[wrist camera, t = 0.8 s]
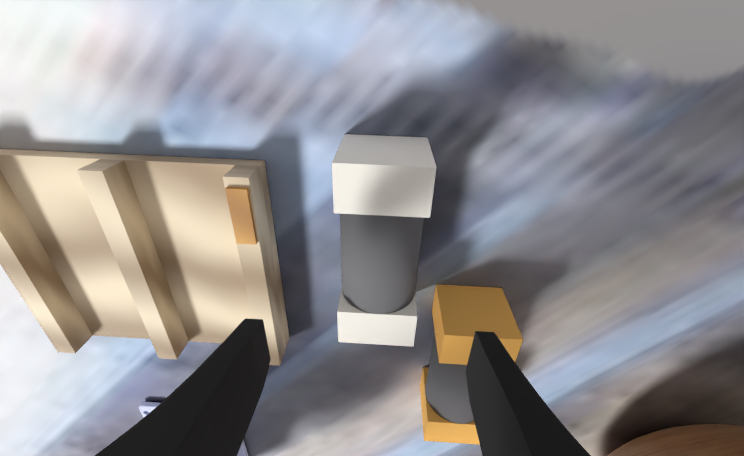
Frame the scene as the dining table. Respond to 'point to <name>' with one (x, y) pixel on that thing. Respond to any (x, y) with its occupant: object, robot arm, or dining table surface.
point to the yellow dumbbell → (460, 356)
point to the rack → (141, 247)
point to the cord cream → (381, 234)
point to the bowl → (687, 442)
